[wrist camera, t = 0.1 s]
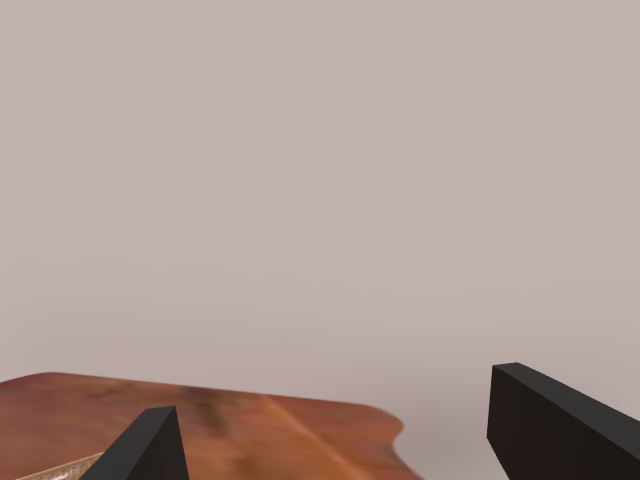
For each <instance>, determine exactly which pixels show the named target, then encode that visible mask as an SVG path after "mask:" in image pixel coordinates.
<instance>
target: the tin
mask: <svg viewBox="0 0 640 480" xmlns="http://www.w3.org/2000/svg"><path fill="white" fill-rule="evenodd" d="M103 453H104V452H102V453H98V454H95V455H92V456H89V457H86V458H83V459H80V460H77V461H73V462H70V463H67V464H64V465H61V466H58V467H54V468H51V469H48V470H45V471H42V472H39V473H35V474H32V475H29V476H26V477H23V478H19V479H16V480H78V479H79V478H80V477H81V476H82V475H83V474H84V473H85V472H86V471H87V470H88V469H89V468H90V467H91V466H92V465H93V464H94V463H95V462H96V460H97V459H98V458H99V457H100V456H101V455H102V454H103Z"/></svg>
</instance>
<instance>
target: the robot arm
mask: <svg viewBox="0 0 640 480" xmlns="http://www.w3.org/2000/svg"><path fill="white" fill-rule="evenodd" d="M487 439H488V441H489V443H490V445H491V447H492V448H493V450H494V452H495V454H496V456H497V458H498V460H499V462H500V464H501V465H502V467H503V469H504V471H505V472H506V474H507V476H508V478H509V479H510V480H640V421H638V420H636V419H634V418H632V417H629V416H627V415H625V414H623V413H621V412H619V411H617V410H615V409H613V408H611V407H609V406H607V405H605V404H603V403H601V402H599V401H597V400H595V399H593V398H591V397H589V396H587V395H585V394H583V393H581V392H579V391H577V390H575V389H573V388H571V387H569V386H567V385H565V384H563V383H561V382H559V381H557V380H554V379H553V378H551V377H549V376H546V375H544V374H542V373H540V372H538V371H536V370H534V369H532V368H529V367H527V366H525V365H522V364H520V363H517V362H515V363H508V364H500V365H493V366H492V378H491V391H490V403H489V415H488V428H487ZM78 480H189V475H188V470H187V465H186V460H185V455H184V449H183V444H182V439H181V434H180V429H179V423H178V418H177V413H176V408H175V406H168V407H160V408H152V409H145V410H144V411H143V412H142V413H141V414H140V415H139V416H138V417H137V418H136V419H135V420H134V422H133V423H132V424H131V425H130V426H129V427H128V428H127V429H126V430H125V431H124V432H123V433H122V434H121V435H120V436H119V437H118V438H117V439H116V440H115V442H114V443H113V444H112V445H111V446H110V447H109V448H108V449H107V450H106V451H105V452H104V453H103V454H102V455H101V456H100V457H99V458H98V459H97V460H96V462H95V463H94V464H93V465H92V466H91V467H90V468H89V469H88V470H87V471H86V472H85V473H84V474H83V475H82V476H81V477H80V478H79V479H78Z"/></svg>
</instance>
